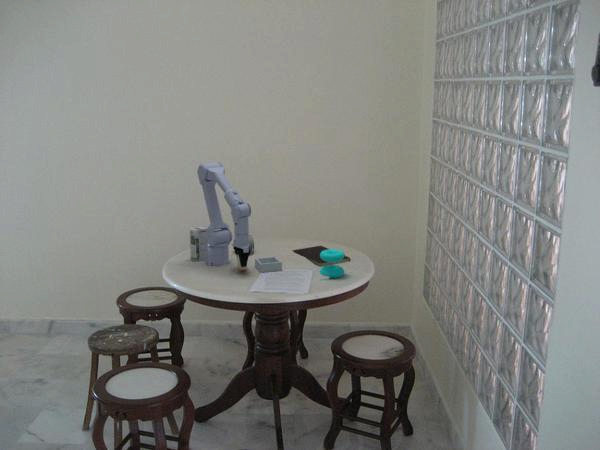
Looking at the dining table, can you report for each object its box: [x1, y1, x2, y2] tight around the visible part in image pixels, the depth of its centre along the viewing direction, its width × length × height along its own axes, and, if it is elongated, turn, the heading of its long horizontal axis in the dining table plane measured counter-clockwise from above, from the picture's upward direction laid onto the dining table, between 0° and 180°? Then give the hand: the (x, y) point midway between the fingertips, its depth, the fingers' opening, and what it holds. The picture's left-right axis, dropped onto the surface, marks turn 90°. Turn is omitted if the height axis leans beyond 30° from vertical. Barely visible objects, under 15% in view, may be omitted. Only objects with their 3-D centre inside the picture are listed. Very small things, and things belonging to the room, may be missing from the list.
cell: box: [236, 254, 248, 270], centre depth 271 cm, size 4×4×7 cm
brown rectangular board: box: [234, 267, 251, 275], centre depth 274 cm, size 20×13×1 cm, turn 109°
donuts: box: [319, 248, 346, 279], centre depth 269 cm, size 10×10×10 cm
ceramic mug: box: [232, 234, 255, 256], centre depth 302 cm, size 11×8×8 cm
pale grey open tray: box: [254, 256, 283, 273], centre depth 275 cm, size 9×9×4 cm
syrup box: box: [189, 226, 209, 263], centre depth 290 cm, size 6×6×14 cm
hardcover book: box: [292, 245, 351, 267], centre depth 295 cm, size 16×23×2 cm
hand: (242, 265), depth 271 cm, fingers closed on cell, 4 cm apart
